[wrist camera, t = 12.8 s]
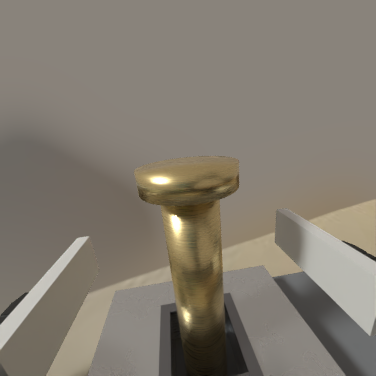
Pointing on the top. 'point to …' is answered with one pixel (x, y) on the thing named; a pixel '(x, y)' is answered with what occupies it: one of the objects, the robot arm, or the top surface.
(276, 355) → the grey flat rectangular block
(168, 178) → the pin
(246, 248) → the top surface
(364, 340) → the mat
